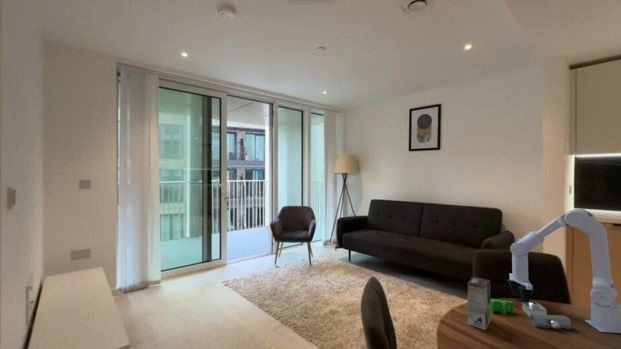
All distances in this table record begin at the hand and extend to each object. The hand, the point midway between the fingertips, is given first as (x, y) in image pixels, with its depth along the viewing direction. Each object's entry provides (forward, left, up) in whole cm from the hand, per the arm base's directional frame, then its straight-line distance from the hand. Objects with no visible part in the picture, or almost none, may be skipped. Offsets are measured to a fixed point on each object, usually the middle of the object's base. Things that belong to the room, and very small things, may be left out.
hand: (520, 299), depth 130 cm
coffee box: (+25, +21, -2) cm, 32 cm away
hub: (0, +10, -2) cm, 10 cm away
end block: (0, +20, -1) cm, 20 cm away
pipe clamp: (+14, +10, -2) cm, 17 cm away
